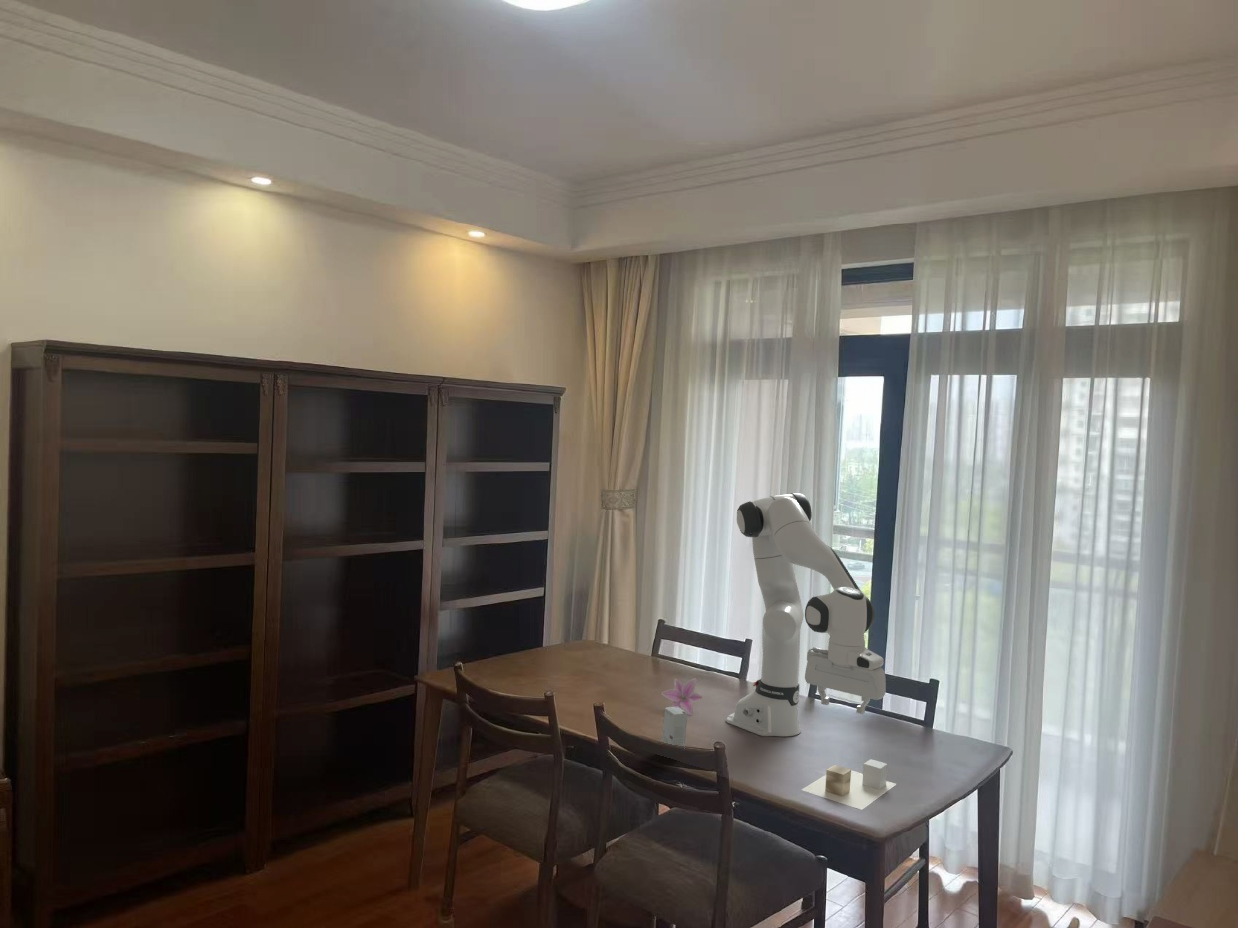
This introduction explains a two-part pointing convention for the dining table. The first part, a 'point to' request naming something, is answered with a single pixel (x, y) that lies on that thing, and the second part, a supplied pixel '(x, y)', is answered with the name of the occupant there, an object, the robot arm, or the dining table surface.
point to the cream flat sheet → (858, 793)
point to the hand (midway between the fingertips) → (842, 708)
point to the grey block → (874, 774)
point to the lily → (683, 695)
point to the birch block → (838, 780)
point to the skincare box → (674, 726)
